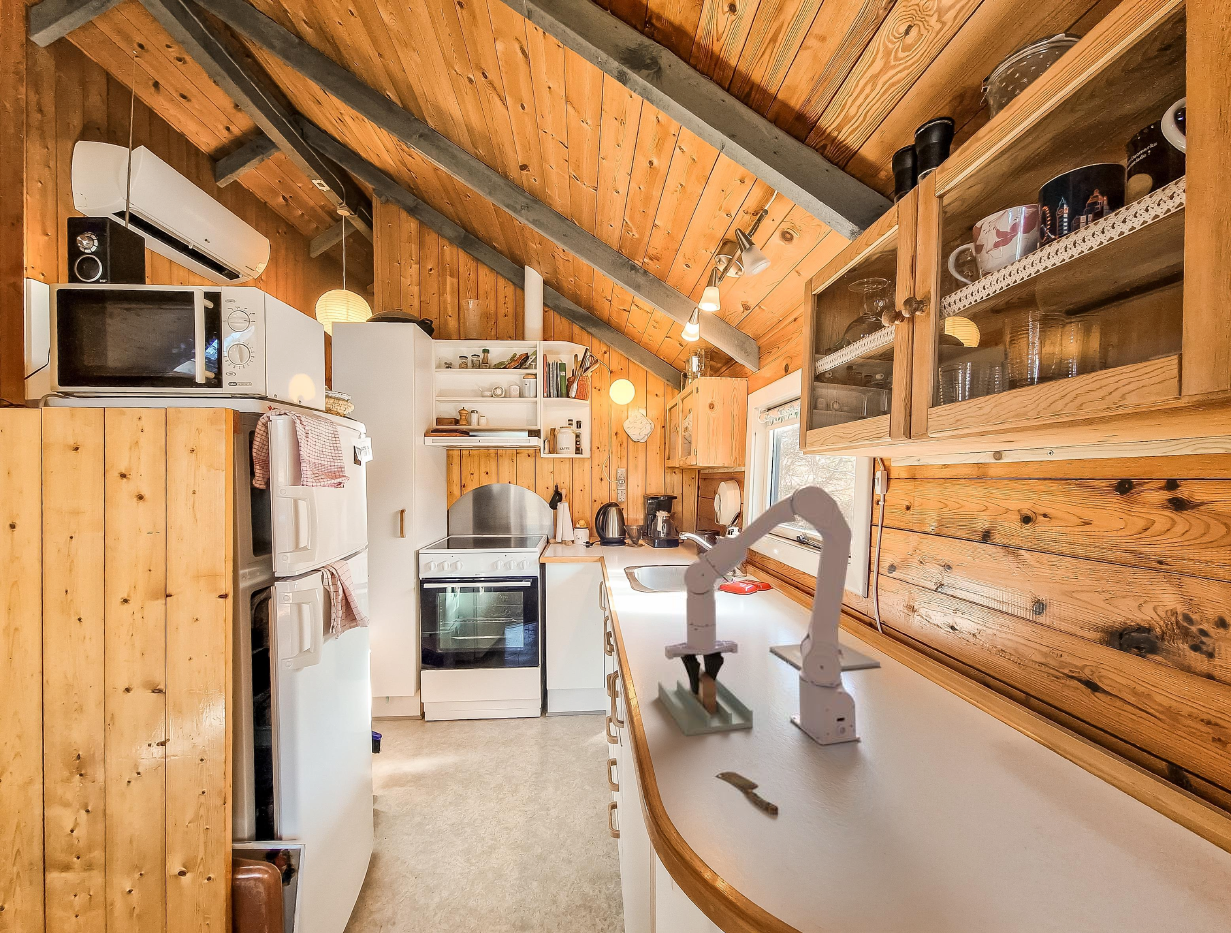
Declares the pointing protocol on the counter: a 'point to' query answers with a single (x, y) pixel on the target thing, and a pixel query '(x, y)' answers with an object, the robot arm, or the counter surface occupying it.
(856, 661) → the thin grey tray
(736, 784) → the brown knife
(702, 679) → the tan wooden slab
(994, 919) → the counter surface
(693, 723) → the notched rack
